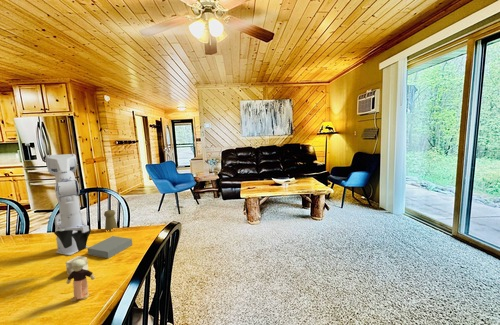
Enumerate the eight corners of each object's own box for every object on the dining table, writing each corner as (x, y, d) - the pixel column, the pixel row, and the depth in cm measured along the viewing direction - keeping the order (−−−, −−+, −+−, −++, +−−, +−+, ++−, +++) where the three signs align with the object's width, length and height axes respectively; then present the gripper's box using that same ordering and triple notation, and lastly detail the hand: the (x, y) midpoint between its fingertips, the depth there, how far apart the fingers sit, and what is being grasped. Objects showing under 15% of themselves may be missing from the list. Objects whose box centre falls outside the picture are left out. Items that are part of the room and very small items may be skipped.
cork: (111, 232, 115) (109, 212, 114) (102, 231, 117) (99, 212, 115) (120, 227, 121) (118, 208, 120) (111, 226, 123) (109, 208, 121)
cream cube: (67, 274, 79) (65, 262, 78) (80, 267, 83) (78, 255, 83) (75, 276, 78) (74, 263, 77) (88, 269, 82) (86, 257, 81)
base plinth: (88, 254, 93) (87, 248, 92) (113, 241, 104) (112, 235, 104) (108, 258, 89) (107, 251, 89) (132, 244, 100) (131, 238, 100)
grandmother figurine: (64, 305, 64) (59, 266, 62) (69, 297, 67) (64, 259, 66) (95, 297, 67) (91, 259, 65) (98, 289, 70) (94, 253, 69)
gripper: (44, 215, 76) (49, 251, 78) (72, 219, 72) (76, 256, 73) (66, 209, 83) (70, 242, 85) (93, 212, 79) (97, 246, 80)
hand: (75, 248), depth 79 cm, fingers open, 7 cm apart
